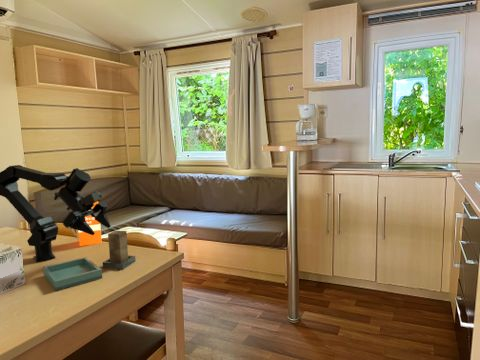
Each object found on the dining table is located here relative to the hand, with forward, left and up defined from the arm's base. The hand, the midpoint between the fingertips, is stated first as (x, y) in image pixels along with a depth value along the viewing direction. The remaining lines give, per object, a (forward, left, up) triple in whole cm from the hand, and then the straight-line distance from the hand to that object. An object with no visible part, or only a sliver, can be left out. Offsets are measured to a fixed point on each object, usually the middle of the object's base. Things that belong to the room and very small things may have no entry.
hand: (102, 230), depth 127 cm
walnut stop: (+5, +4, -12) cm, 14 cm away
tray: (+5, -12, -12) cm, 18 cm away
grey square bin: (+5, +4, -12) cm, 14 cm away
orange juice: (-30, +5, -12) cm, 33 cm away
